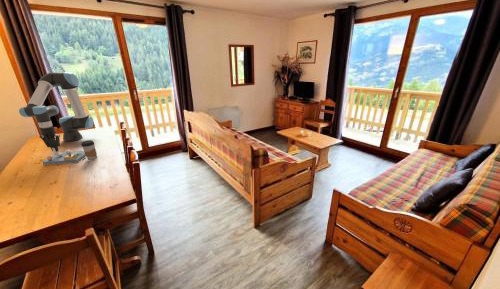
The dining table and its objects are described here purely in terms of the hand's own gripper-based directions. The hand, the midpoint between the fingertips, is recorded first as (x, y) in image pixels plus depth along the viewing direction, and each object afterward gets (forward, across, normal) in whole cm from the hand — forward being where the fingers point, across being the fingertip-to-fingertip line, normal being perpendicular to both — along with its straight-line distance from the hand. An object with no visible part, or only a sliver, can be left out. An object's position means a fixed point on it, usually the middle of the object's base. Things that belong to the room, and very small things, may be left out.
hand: (57, 154), depth 167 cm
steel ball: (0, +2, 0) cm, 2 cm away
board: (+4, +6, 0) cm, 8 cm away
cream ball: (0, +4, +6) cm, 8 cm away
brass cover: (+1, +14, -6) cm, 15 cm away
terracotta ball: (0, -1, -6) cm, 6 cm away
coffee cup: (+4, +27, -3) cm, 27 cm away
